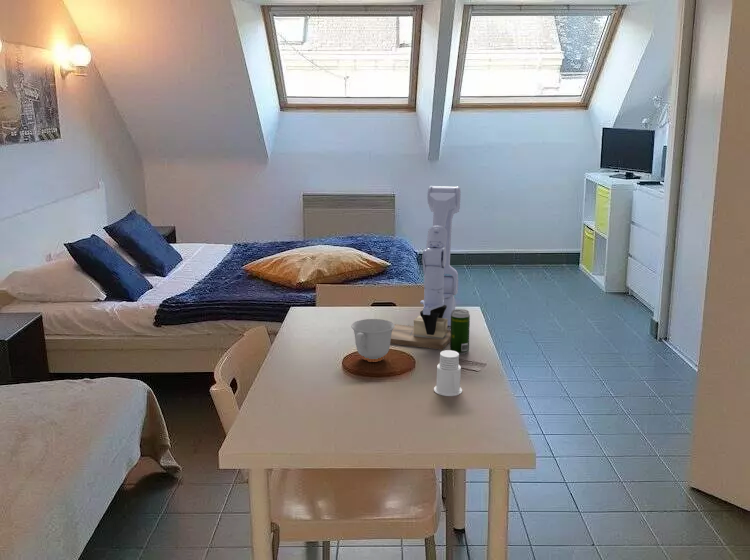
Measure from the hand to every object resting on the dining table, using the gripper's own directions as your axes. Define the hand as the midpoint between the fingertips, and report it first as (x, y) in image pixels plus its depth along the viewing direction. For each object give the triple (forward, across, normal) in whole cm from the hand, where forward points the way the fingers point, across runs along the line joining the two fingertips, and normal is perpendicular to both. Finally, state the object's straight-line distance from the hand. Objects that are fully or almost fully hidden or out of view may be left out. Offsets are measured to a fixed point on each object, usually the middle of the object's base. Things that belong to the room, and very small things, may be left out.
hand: (433, 331), depth 217 cm
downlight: (+3, +36, +15) cm, 39 cm away
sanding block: (+1, 0, -1) cm, 2 cm away
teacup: (+3, +23, -11) cm, 26 cm away
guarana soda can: (+3, +7, +10) cm, 13 cm away
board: (+3, 0, -5) cm, 6 cm away
